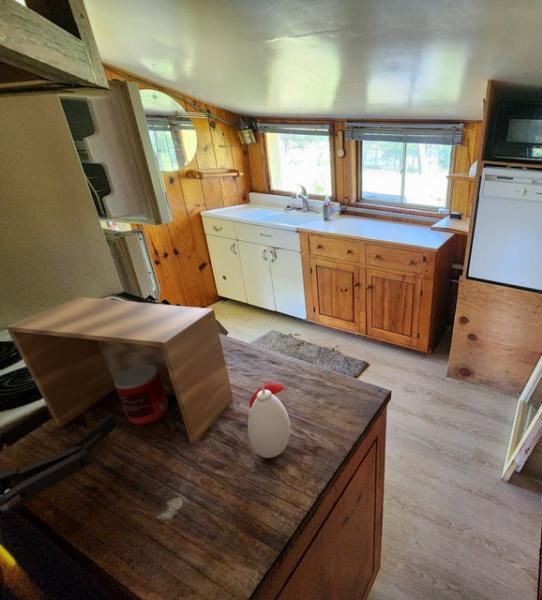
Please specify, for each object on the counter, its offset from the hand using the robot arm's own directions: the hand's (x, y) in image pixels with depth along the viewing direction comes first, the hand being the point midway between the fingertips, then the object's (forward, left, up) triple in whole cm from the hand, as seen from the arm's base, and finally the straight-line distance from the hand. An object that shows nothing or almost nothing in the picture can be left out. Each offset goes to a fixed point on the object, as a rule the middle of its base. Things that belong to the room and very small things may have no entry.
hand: (80, 416), depth 60 cm
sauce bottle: (+33, +6, -11) cm, 35 cm away
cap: (+26, +18, -11) cm, 33 cm away
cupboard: (0, +13, -11) cm, 17 cm away
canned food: (0, +12, -11) cm, 16 cm away
